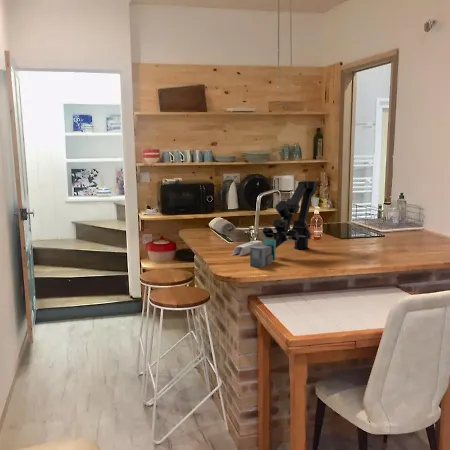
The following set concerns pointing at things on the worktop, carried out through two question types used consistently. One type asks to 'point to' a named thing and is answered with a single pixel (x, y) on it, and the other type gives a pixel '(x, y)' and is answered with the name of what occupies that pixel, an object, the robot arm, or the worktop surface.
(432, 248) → the worktop surface
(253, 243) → the box
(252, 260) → the socket
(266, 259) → the sleeve
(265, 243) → the teal green slab
